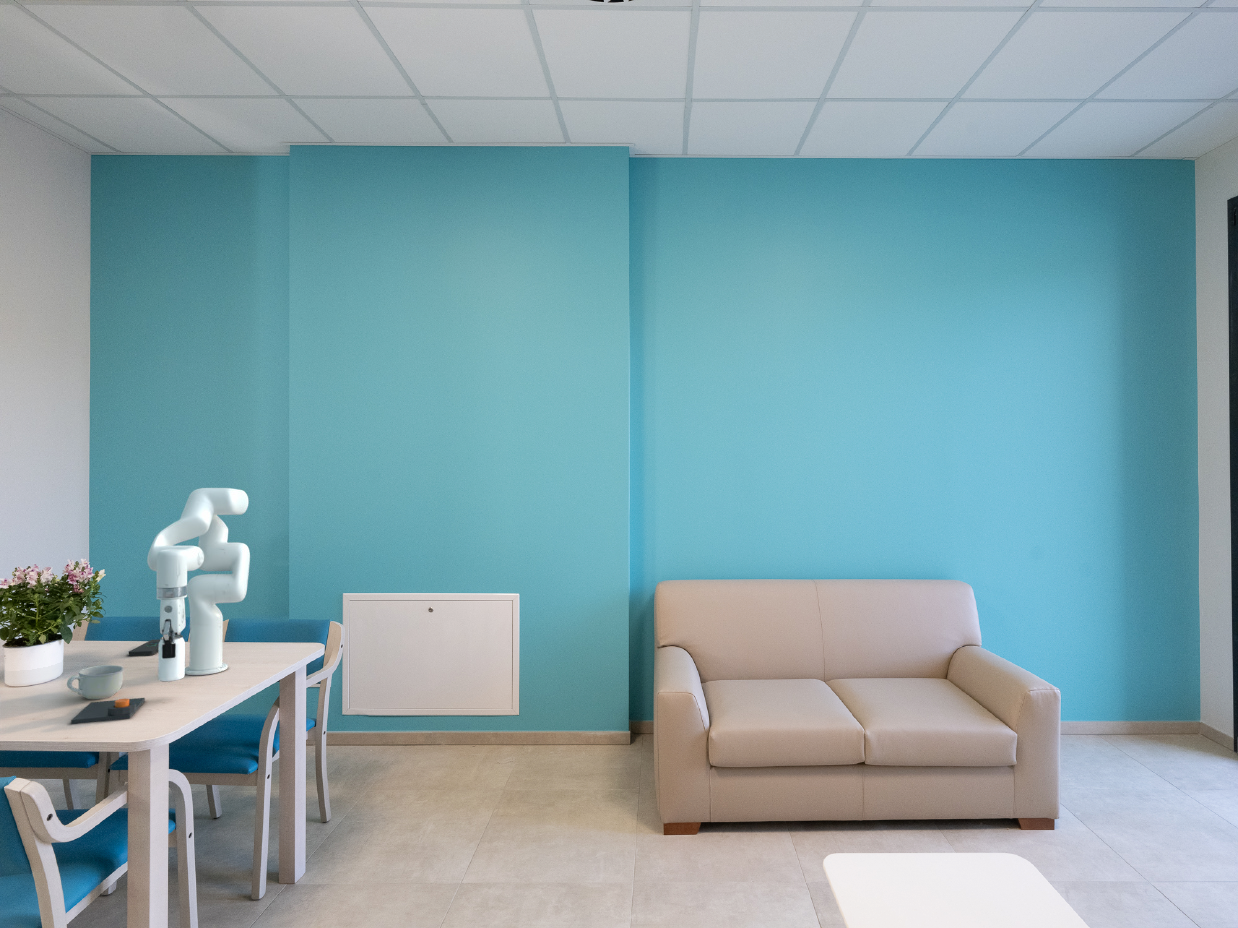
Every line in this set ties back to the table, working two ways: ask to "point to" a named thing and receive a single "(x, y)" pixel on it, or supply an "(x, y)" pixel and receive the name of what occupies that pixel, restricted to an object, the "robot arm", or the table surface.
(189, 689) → the table surface
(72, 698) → the table surface
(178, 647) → the can
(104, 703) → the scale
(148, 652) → the smart home device
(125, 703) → the button
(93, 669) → the teacup
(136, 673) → the table surface
